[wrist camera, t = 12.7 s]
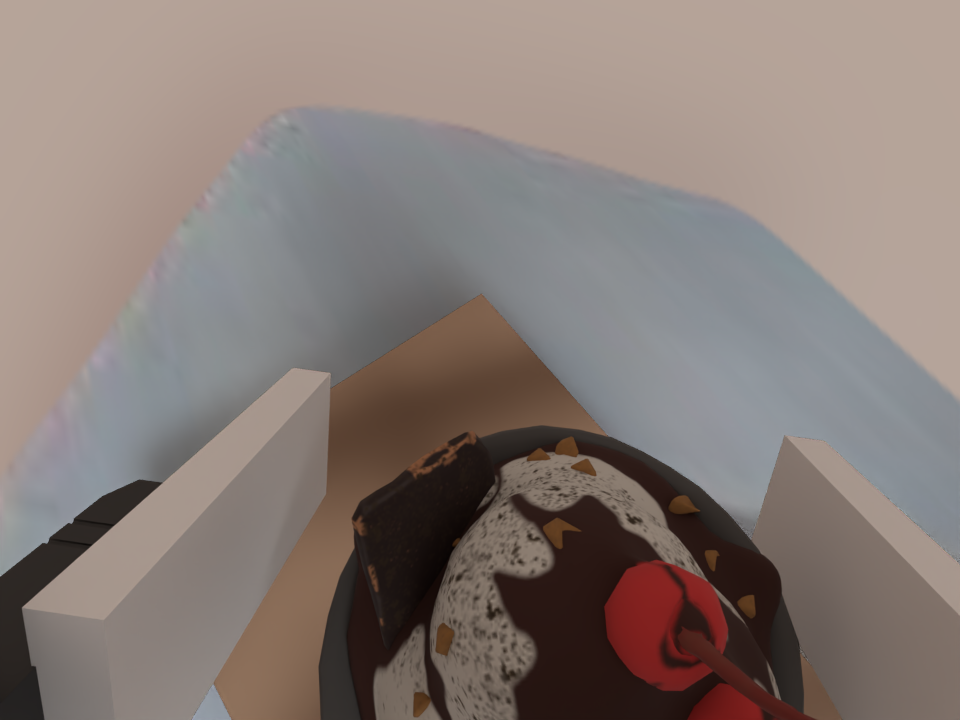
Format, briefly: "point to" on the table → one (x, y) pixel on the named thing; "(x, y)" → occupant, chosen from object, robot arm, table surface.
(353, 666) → the sundae
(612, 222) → the table surface
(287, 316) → the table surface
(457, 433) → the brown flat wooden slab
